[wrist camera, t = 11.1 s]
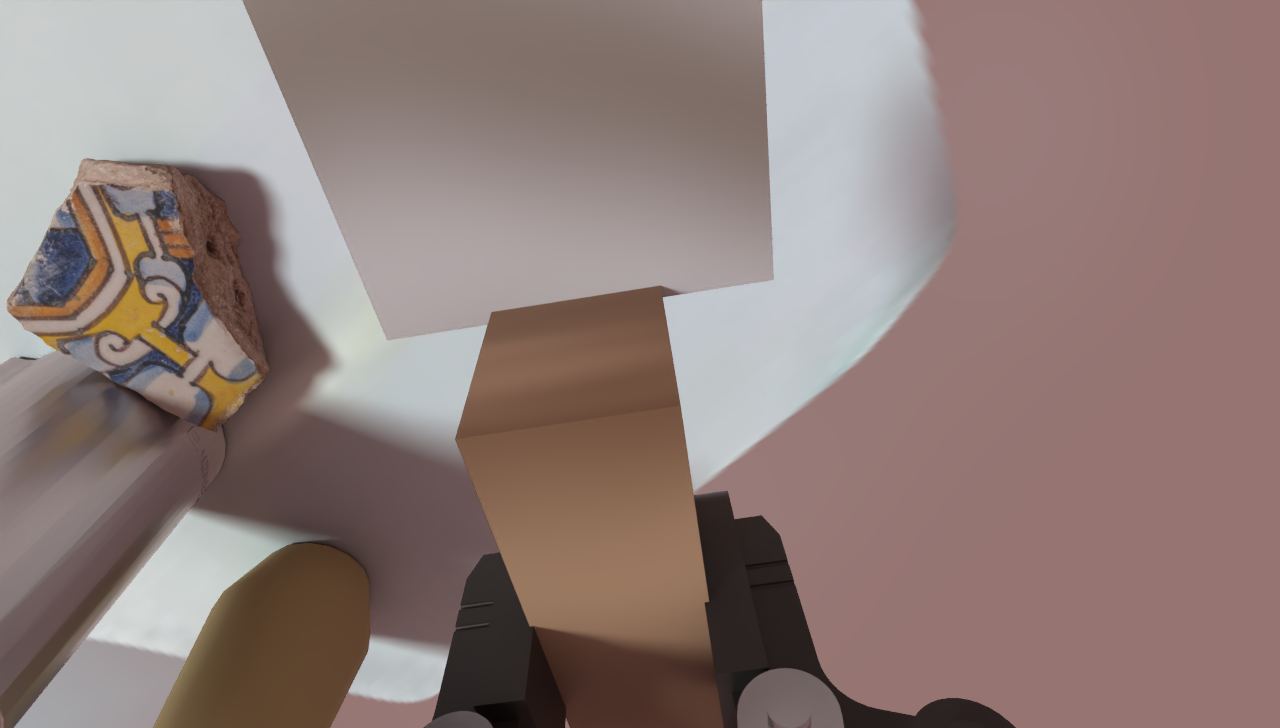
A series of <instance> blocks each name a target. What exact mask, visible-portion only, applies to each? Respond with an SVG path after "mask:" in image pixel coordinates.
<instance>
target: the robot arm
mask: <svg viewBox="0 0 1280 728" xmlns="http://www.w3.org/2000/svg"><path fill="white" fill-rule="evenodd" d="M217 428H218V432H217V433H215V432H214V431H210V430H207V429H205V428H203V427H199V426H197V425H195V424H192V423H190V422H187V421H184V420H183V419H181V418H180V417H178V416H176V415H174V414H172V413H169V412H167V411H165V410H164V409H162V408H160V407H159V406H157V405H156V404H154V403H153V402H151V401H149V400H147V399H146V398H145V397H143V396H142V395H141V394H140V393H138V392H136V391H134V390H132V389H130V388H128V387H125V386H122V385H119V384H117V383H116V382H114V381H112V380H111V379H109V378H108V377H107V376H105V375H104V374H102V373H101V372H99V371H97V370H95V369H93V368H90V367H88V366H87V365H85V364H83V363H81V362H79V361H77V360H75V359H73V358H71V357H69V356H66V355H65V354H63V353H61V352H60V351H58V350H57V351H55V352H53V353H50V354H48V355H46V356H44V357H42V358H39V359H36V360H25V359H19V358H11V359H9V360H7V361H6V362H4V363H3V364H1V365H0V728H14V727H15V725H16V724H17V723H18V722H19V720H20V719H21V718H22V717H23V716H24V714H25V713H26V712H27V710H28V709H29V708H30V707H31V706H32V704H33V703H34V702H35V701H36V699H37V698H38V697H39V695H40V694H41V693H42V692H43V690H44V689H45V688H46V687H47V686H48V684H49V683H50V682H51V681H52V680H53V678H54V677H55V676H56V674H57V673H58V672H59V671H60V670H61V668H62V667H63V666H64V665H65V663H66V662H67V661H68V660H69V658H70V657H71V656H72V655H73V653H74V652H75V651H76V650H77V649H78V647H79V646H80V645H81V644H82V642H83V641H84V640H85V639H86V637H87V636H88V635H89V634H90V632H91V631H92V630H93V629H94V627H95V626H96V625H97V624H98V622H99V621H100V620H101V619H102V617H103V616H104V615H105V614H106V613H107V611H108V610H109V609H110V608H111V606H112V605H113V604H114V603H115V601H116V600H117V599H118V598H119V596H120V595H121V594H122V593H123V591H124V590H125V589H126V588H127V586H128V585H129V584H130V583H131V582H132V580H133V579H134V578H135V577H136V575H137V574H138V573H139V572H140V570H141V569H142V568H143V567H144V565H145V564H146V563H147V562H148V560H149V559H150V558H151V557H152V555H153V554H154V553H155V552H156V550H157V549H158V548H159V547H160V546H161V544H162V543H163V542H164V541H165V539H166V538H167V537H168V536H169V534H170V533H171V532H172V531H173V529H174V528H175V527H176V526H177V524H178V523H179V522H180V521H181V519H182V518H183V517H184V516H185V514H186V513H187V512H188V511H189V509H190V508H191V507H192V506H193V504H194V503H195V502H197V501H198V500H199V499H200V497H201V496H202V495H203V493H204V491H205V490H206V488H207V487H208V485H209V484H210V483H211V482H212V480H213V479H214V478H215V477H216V475H217V474H218V473H219V472H220V469H221V467H222V464H223V462H224V459H225V446H226V443H225V439H224V434H223V430H222V427H221V426H220V427H217ZM694 501H695V508H696V515H697V522H698V529H699V535H700V542H701V549H702V556H703V563H704V570H705V576H706V583H707V590H708V597H709V602H704V603H705V610H706V616H707V623H708V630H709V636H710V643H711V649H712V656H713V663H714V669H715V676H716V682H717V688H718V695H719V701H720V708H721V714H722V720H723V727H724V728H1015V727H1014V726H1013V725H1012V724H1011V723H1010V722H1009V721H1008V720H1006V719H1005V718H1004V717H1003V716H1001V715H1000V714H999V713H997V712H995V711H994V710H992V709H990V708H989V707H986V706H984V705H982V704H980V703H977V702H973V701H970V700H965V699H960V698H947V699H940V700H937V701H934V702H931V703H930V704H928V705H926V706H924V707H923V708H922V709H921V710H920V711H919V712H918V713H917V715H916V716H912V715H906V714H901V713H896V712H891V711H886V710H880V709H875V708H872V707H868V706H865V705H863V704H860V703H858V702H856V701H854V700H852V699H850V698H849V697H847V696H846V695H844V694H843V693H842V692H840V691H839V690H838V689H837V688H836V687H835V686H834V685H833V684H832V683H831V682H830V681H829V679H828V678H827V677H826V675H825V674H824V672H823V670H822V668H821V666H820V663H819V661H818V658H817V655H816V651H815V648H814V645H813V641H812V638H811V635H810V632H809V629H808V625H807V622H806V619H805V615H804V612H803V609H802V606H801V602H800V599H799V596H798V593H797V589H796V586H795V585H794V580H793V576H792V573H791V570H790V567H789V565H788V561H787V557H786V554H785V551H784V548H783V544H782V541H781V537H780V535H779V534H778V533H777V531H776V530H775V529H774V528H773V527H772V526H771V525H770V524H769V523H768V522H767V521H766V520H765V519H764V518H763V517H762V516H755V517H748V518H741V519H734V516H733V511H732V507H731V503H730V498H729V494H728V491H722V492H715V493H708V494H701V495H694ZM565 718H566V707H565V704H564V701H563V699H562V696H561V694H560V691H559V689H558V686H557V684H556V681H555V679H554V676H553V674H552V671H551V669H550V666H549V664H548V661H547V659H546V656H545V654H544V651H543V649H542V646H541V644H540V641H539V638H538V636H537V633H536V631H535V628H534V626H531V627H530V626H529V624H528V621H527V618H526V616H525V613H524V611H523V608H522V606H521V603H520V601H519V598H518V596H517V593H516V591H515V588H514V586H513V583H512V581H511V578H510V576H509V573H508V571H507V568H506V566H505V563H504V561H503V558H502V556H501V553H495V554H488V555H483V557H482V558H481V560H480V561H479V562H478V564H477V565H476V567H475V568H474V570H473V571H472V573H471V574H470V575H469V577H468V578H467V581H466V585H465V589H464V593H463V597H462V601H461V610H459V614H458V618H457V622H456V632H454V635H453V639H452V643H451V647H450V651H449V655H448V660H447V664H446V668H445V672H444V676H443V680H442V684H441V689H440V693H439V697H438V701H437V705H436V710H435V713H434V716H433V719H432V722H430V723H429V724H427V725H426V726H425V727H424V728H565V720H566V719H565Z"/></svg>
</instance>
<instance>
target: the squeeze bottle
mask: <svg viewBox="0 0 1280 728" xmlns="http://www.w3.org/2000/svg"><path fill="white" fill-rule="evenodd" d="M369 639H370V581H369V579H368V577H367V575H366V573H365V571H364V568H363V567H362V566H361V565H360V564H359V563H357V562H356V561H355V560H354V559H353V558H352V557H351V556H350V555H348V554H346V553H343V552H341V551H339V550H337V549H335V548H333V547H330V546H325V545H319V544H313V543H302V544H294V545H287V546H285V547H283V548H281V549H279V550H278V551H276V552H274V553H272V554H271V555H269V556H268V557H267V558H266V559H264V560H263V561H262V562H261V563H259V564H258V565H257V566H255V567H254V568H253V569H252V570H250V571H249V572H248V573H247V574H245V575H244V576H243V577H242V578H240V579H239V580H238V581H237V582H235V583H234V584H233V585H231V586H230V587H229V588H228V589H226V590H225V591H224V592H223V593H222V595H221V596H220V598H219V599H218V601H217V602H216V604H215V605H214V607H213V608H212V610H211V612H210V614H209V616H208V618H207V620H206V622H205V624H204V626H203V628H202V630H201V632H200V634H199V636H198V638H197V640H196V642H195V644H194V646H193V648H192V650H191V652H190V654H189V656H188V658H187V660H186V662H185V664H184V666H183V668H182V670H181V672H180V674H179V676H178V678H177V680H176V682H175V684H174V686H173V688H172V690H171V692H170V694H169V696H168V698H167V700H166V702H165V704H164V707H163V708H162V710H161V712H160V714H159V716H158V718H157V720H156V722H155V724H154V726H153V728H330V727H331V725H332V723H333V721H334V719H335V717H336V715H337V713H338V711H339V709H340V707H341V704H342V703H343V701H344V699H345V697H346V695H347V693H348V691H349V689H350V687H351V685H352V682H353V680H354V678H355V676H356V674H357V672H358V670H359V668H360V666H361V664H362V662H363V660H364V658H365V656H366V654H367V652H368V647H369Z"/></svg>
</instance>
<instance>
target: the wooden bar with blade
mask: <svg viewBox="0 0 1280 728" xmlns="http://www.w3.org/2000/svg"><path fill="white" fill-rule="evenodd" d="M243 3H244V5H245V7H246V10H247V12H248V14H249V17H250V19H251V22H252V24H253V26H254V29H255V31H256V33H257V36H258V38H259V40H260V43H261V45H262V47H263V50H264V52H265V54H266V57H267V59H268V61H269V64H270V66H271V68H272V71H273V73H274V75H275V78H276V80H277V83H278V85H279V87H280V90H281V92H282V94H283V97H284V99H285V101H286V104H287V106H288V108H289V111H290V113H291V115H292V118H293V120H294V122H295V125H296V127H297V129H298V132H299V134H300V136H301V139H302V141H303V144H304V146H305V148H306V151H307V153H308V155H309V158H310V160H311V162H312V165H313V167H314V169H315V172H316V174H317V176H318V179H319V181H320V183H321V186H322V188H323V190H324V193H325V195H326V197H327V200H328V202H329V204H330V207H331V209H332V212H333V214H334V216H335V219H336V221H337V223H338V226H339V228H340V230H341V233H342V235H343V237H344V240H345V242H346V244H347V247H348V249H349V251H350V254H351V256H352V258H353V261H354V263H355V265H356V268H357V270H358V273H359V275H360V277H361V280H362V282H363V284H364V287H365V289H366V291H367V294H368V296H369V298H370V301H371V303H372V305H373V308H374V310H375V312H376V315H377V317H378V319H379V322H380V324H381V326H382V329H383V331H384V333H385V336H386V338H387V340H392V339H399V338H405V337H412V336H418V335H424V334H431V333H437V332H443V331H450V330H456V329H462V328H469V327H475V326H482V325H488V326H487V329H486V333H485V336H484V340H483V343H482V347H481V350H480V354H479V357H478V361H477V364H476V368H475V371H474V375H473V378H472V382H471V385H470V389H469V393H468V396H467V400H466V403H465V407H464V410H463V414H462V417H461V421H460V424H459V428H458V431H457V435H456V438H455V440H456V443H457V445H458V448H459V450H460V453H461V455H462V458H463V460H464V463H465V465H466V468H467V470H468V473H469V475H470V478H471V480H472V483H473V485H474V488H475V490H476V493H477V496H478V498H479V501H480V503H481V506H482V508H483V511H484V513H485V516H486V518H487V521H488V523H489V526H490V528H491V531H492V533H493V536H494V538H495V541H496V543H497V546H498V548H499V551H500V553H501V556H502V558H503V561H504V563H505V566H506V568H507V571H508V573H509V576H510V578H511V581H512V583H513V586H514V588H515V591H516V593H517V596H518V598H519V601H520V603H521V606H522V608H523V611H524V613H525V616H526V618H527V621H528V624H529V626H530V627H531V626H534V628H535V631H536V633H537V636H538V638H539V641H540V644H541V646H542V649H543V651H544V654H545V656H546V659H547V661H548V664H549V666H550V669H551V671H552V674H553V676H554V679H555V681H556V684H557V686H558V689H559V691H560V694H561V696H562V699H563V701H564V704H565V707H566V719H567V721H568V724H569V726H570V728H724V727H723V720H722V714H721V708H720V701H719V695H718V688H717V682H716V676H715V669H714V663H713V656H712V649H711V643H710V636H709V630H708V623H707V616H706V610H705V603H704V602H709V597H708V590H707V583H706V576H705V570H704V563H703V556H702V549H701V542H700V535H699V529H698V522H697V515H696V508H695V501H694V494H693V488H692V481H691V474H690V467H689V460H688V454H687V447H686V440H685V433H684V426H683V419H682V413H681V406H680V400H679V394H678V388H677V382H676V376H675V370H674V364H673V357H672V351H671V345H670V339H669V333H668V327H667V321H666V315H665V309H664V303H663V297H666V296H673V295H679V294H685V293H692V292H698V291H704V290H711V289H717V288H724V287H730V286H736V285H743V284H749V283H755V282H762V281H768V280H774V275H773V251H772V228H771V204H770V181H769V157H768V134H767V110H766V87H765V63H764V40H763V17H762V0H243Z"/></svg>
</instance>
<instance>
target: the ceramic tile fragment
mask: <svg viewBox="0 0 1280 728" xmlns="http://www.w3.org/2000/svg"><path fill="white" fill-rule="evenodd" d="M70 191H71V193H70V194H69V195H68V197H67V198H66V200H65V201H64V203H63V204H62V205H61V206H60V207H58V208H57V209H56V211H55V214H54V216H53V219H52V222H51V225H50V227H49V229H48V230H47V232H46V234H45V236H44V239H43V241H42V243H41V245H40V247H39V249H38V251H37V252H36V254H35V256H34V257H33V259H32V261H31V262H30V263H29V265H28V268H27V270H26V272H25V275H24V277H23V279H22V280H21V282H20V283H19V285H18V286H17V288H16V289H15V290H14V291H13V292H12V294H11V295H10V297H9V298H8V300H7V311H8V312H9V313H10V314H11V315H12V316H13V317H15V318H16V319H17V320H18V321H19V322H20V323H21V324H22V326H23V328H24V329H25V330H27V331H30V332H32V333H34V334H35V335H37V336H39V337H40V338H41V339H43V341H44V342H45V343H46V344H47V345H49V346H51V347H52V348H54V349H56V350H58V351H60V352H61V353H63V354H65V355H66V356H69V357H71V358H73V359H75V360H77V361H79V362H81V363H83V364H85V365H87V366H88V367H90V368H93V369H95V370H97V371H99V372H101V373H102V374H104V375H105V376H107V377H108V378H109V379H111V380H112V381H114V382H116V383H117V384H119V385H122V386H125V387H128V388H130V389H132V390H134V391H136V392H138V393H140V394H141V395H142V396H143V397H145V398H146V399H147V400H149V401H151V402H153V403H154V404H156V405H157V406H159V407H160V408H162V409H164V410H165V411H167V412H169V413H172V414H174V415H176V416H178V417H180V418H181V419H183V420H184V421H187V422H190V423H192V424H195V425H197V426H199V427H203V428H205V429H207V430H210V431H214V432H215V433H217V432H218V428H217V427H220V426H221V424H225V422H226V421H227V420H228V419H229V417H230V416H231V415H233V414H234V413H235V412H237V411H238V409H239V407H240V406H241V405H242V404H243V403H244V400H245V397H246V396H247V395H248V394H249V393H250V392H252V391H253V389H257V388H256V387H257V386H258V385H259V384H260V383H261V382H263V381H264V379H265V378H266V377H267V375H268V372H269V367H268V363H267V359H266V354H265V351H264V347H263V342H262V339H261V335H260V332H259V327H258V322H257V318H256V315H255V310H254V305H253V301H252V294H251V290H250V287H249V285H248V282H247V281H246V279H245V278H244V276H243V273H242V268H241V264H240V261H239V257H238V255H237V246H238V245H239V244H240V243H241V241H242V237H241V235H239V233H238V231H237V230H236V229H235V228H234V226H233V225H232V224H231V222H230V219H229V218H228V217H227V213H226V204H225V202H224V201H222V200H221V199H219V198H216V197H215V196H214V195H212V194H211V193H210V192H209V191H208V190H207V189H205V188H204V187H203V186H202V185H201V183H200V182H199V181H198V180H197V179H196V178H195V177H194V176H191V175H189V174H185V175H181V173H180V171H179V169H177V168H175V167H172V166H168V165H154V166H150V165H133V164H127V163H122V162H116V161H109V160H94V159H84V160H82V162H81V164H80V166H79V171H78V175H77V178H76V179H75V181H74V185H73V187H72V188H71V190H70Z"/></svg>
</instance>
